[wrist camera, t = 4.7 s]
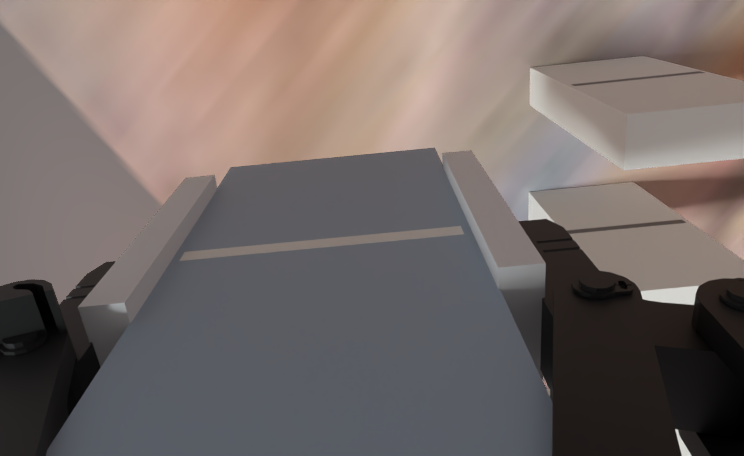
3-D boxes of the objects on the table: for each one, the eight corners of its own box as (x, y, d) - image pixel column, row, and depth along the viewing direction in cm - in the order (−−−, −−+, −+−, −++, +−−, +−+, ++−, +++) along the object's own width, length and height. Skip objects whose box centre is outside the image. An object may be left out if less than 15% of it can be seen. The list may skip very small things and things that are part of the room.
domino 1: (530, 67, 31) (627, 114, 20) (643, 55, 31) (804, 95, 20) (529, 105, 32) (623, 170, 21) (640, 94, 32) (793, 153, 21)
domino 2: (528, 191, 34) (613, 293, 23) (633, 181, 34) (770, 278, 23) (528, 224, 34) (610, 337, 23) (630, 214, 34) (761, 323, 23)
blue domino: (230, 166, 17) (8, 507, 6) (434, 147, 17) (577, 457, 6) (242, 229, 18) (65, 631, 7) (438, 211, 18) (569, 587, 7)
